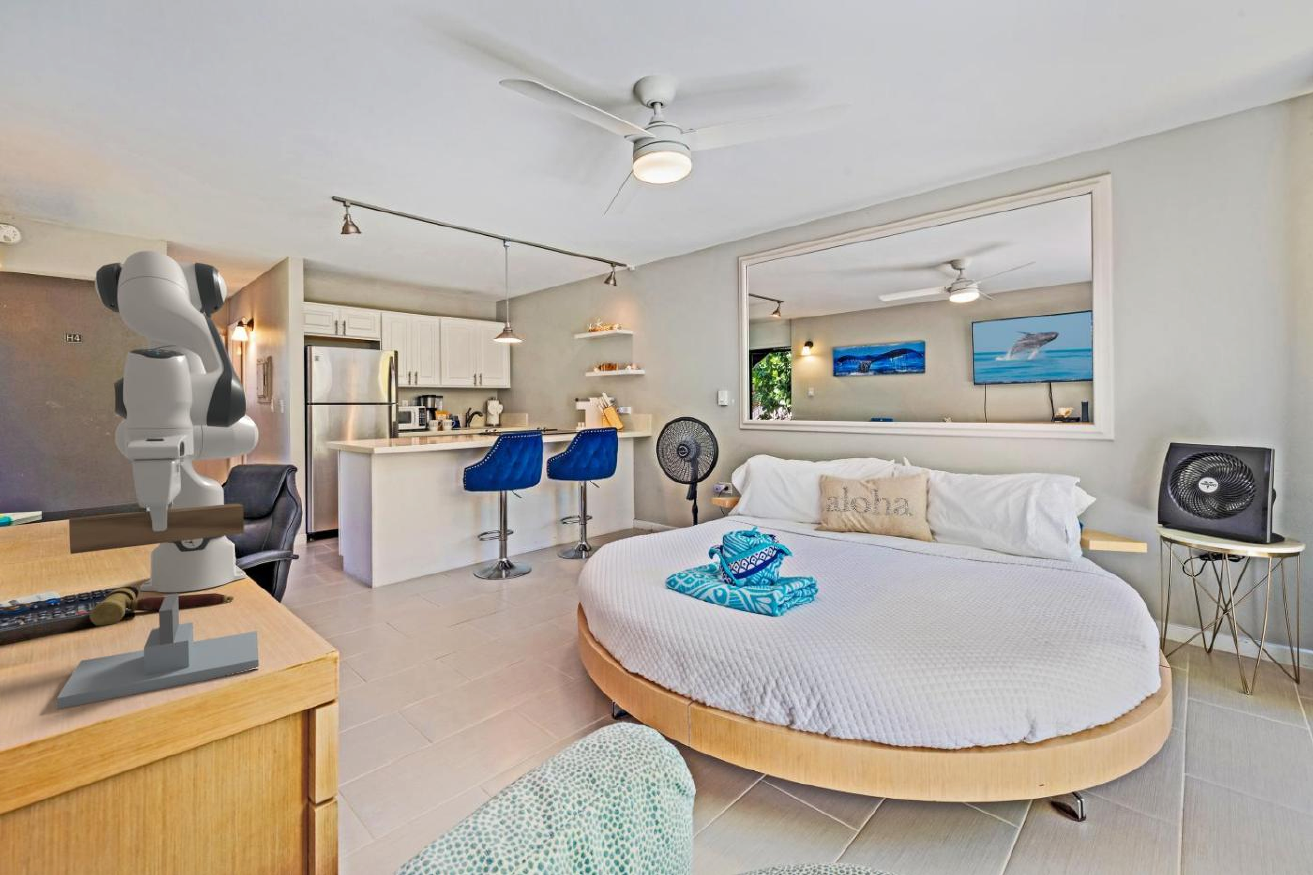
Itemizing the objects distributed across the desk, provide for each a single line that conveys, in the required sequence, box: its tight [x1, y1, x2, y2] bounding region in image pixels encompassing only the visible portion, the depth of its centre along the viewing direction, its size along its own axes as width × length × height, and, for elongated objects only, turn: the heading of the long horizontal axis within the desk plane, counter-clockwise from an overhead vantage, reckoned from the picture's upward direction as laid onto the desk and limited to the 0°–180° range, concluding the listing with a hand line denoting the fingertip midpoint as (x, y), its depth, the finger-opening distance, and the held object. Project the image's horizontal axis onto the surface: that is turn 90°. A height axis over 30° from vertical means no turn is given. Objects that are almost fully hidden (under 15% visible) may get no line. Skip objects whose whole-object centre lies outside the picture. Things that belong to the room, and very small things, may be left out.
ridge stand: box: [56, 592, 260, 710], centre depth 89 cm, size 14×22×10 cm, turn 125°
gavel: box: [89, 587, 235, 626], centre depth 116 cm, size 21×5×10 cm
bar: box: [68, 503, 245, 555], centre depth 99 cm, size 4×22×5 cm, turn 136°
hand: (162, 527), depth 99 cm, fingers closed on bar, 4 cm apart
